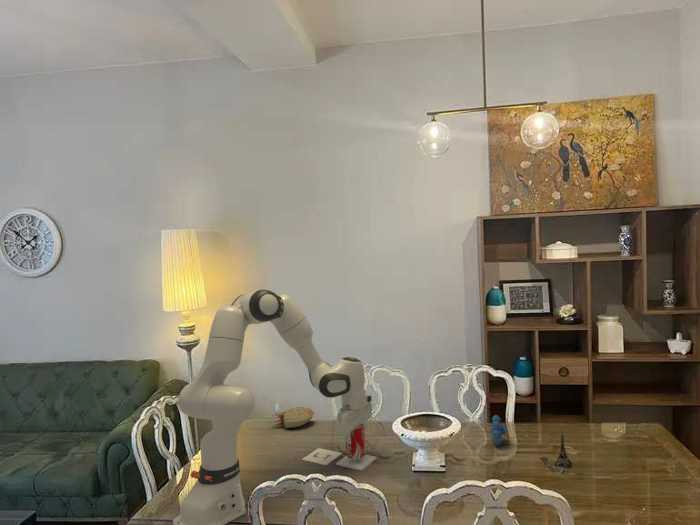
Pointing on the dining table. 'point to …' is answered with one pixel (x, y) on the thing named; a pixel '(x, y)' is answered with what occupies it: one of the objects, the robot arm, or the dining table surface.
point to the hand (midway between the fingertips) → (355, 438)
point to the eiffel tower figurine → (560, 462)
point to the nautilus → (294, 417)
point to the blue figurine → (497, 430)
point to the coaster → (356, 462)
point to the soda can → (356, 444)
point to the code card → (322, 456)
